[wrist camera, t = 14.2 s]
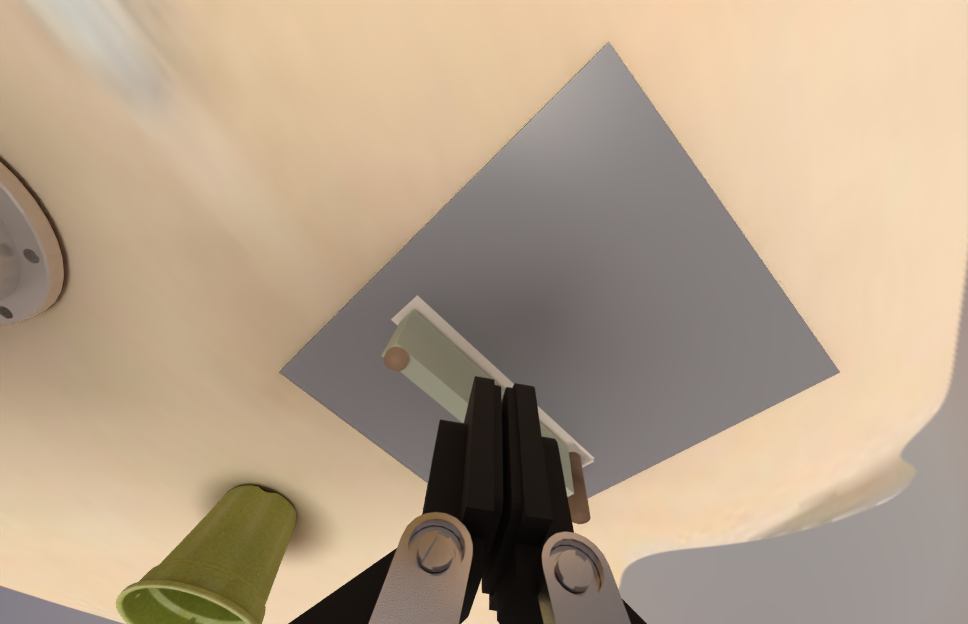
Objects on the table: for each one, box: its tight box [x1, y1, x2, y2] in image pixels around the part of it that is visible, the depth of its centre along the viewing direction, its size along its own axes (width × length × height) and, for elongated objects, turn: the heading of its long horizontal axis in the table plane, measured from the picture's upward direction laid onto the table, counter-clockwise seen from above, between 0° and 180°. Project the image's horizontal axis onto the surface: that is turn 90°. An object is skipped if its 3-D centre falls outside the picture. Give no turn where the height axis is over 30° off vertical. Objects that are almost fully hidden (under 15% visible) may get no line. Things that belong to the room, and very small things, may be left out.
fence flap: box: [381, 309, 574, 497], centre depth 23 cm, size 14×1×4 cm, turn 44°
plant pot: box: [116, 485, 297, 624], centre depth 30 cm, size 9×9×9 cm
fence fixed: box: [568, 452, 590, 524], centre depth 28 cm, size 10×2×5 cm, turn 134°
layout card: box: [279, 42, 840, 499], centre depth 25 cm, size 26×22×1 cm
